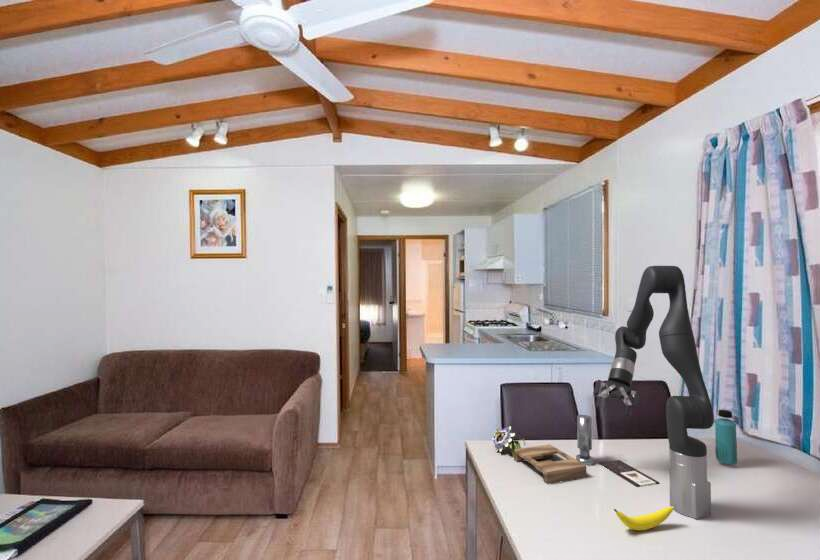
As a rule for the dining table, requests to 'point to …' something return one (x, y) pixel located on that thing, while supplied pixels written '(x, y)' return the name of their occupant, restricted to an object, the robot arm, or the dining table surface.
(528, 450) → the keyhole plate
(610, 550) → the dining table surface
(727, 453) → the beverage bottle
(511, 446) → the passion flower
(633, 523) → the banana
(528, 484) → the dining table surface
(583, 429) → the keyhole post
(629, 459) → the dining table surface
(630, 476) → the chocolate bar
